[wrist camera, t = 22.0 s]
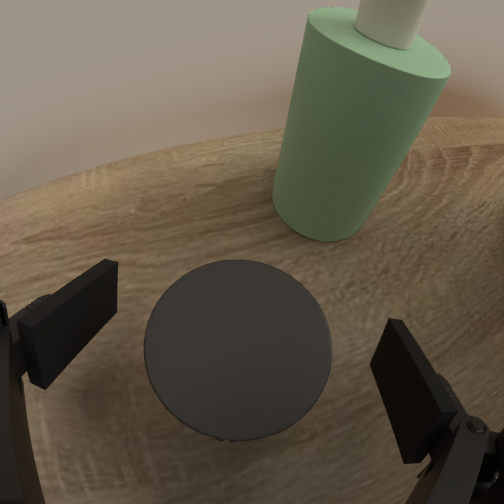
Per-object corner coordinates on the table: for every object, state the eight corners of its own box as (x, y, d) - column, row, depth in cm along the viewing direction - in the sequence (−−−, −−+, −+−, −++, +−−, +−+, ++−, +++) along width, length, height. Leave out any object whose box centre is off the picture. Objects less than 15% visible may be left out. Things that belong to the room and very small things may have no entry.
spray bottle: (341, 159, 25) (413, -37, 10) (381, 231, 22) (511, 22, 7) (259, 169, 24) (295, -67, 8) (291, 251, 21) (390, -33, 6)
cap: (265, 319, 18) (298, 242, 10) (293, 408, 16) (356, 405, 8) (173, 341, 17) (129, 280, 9) (197, 434, 15) (169, 460, 7)
